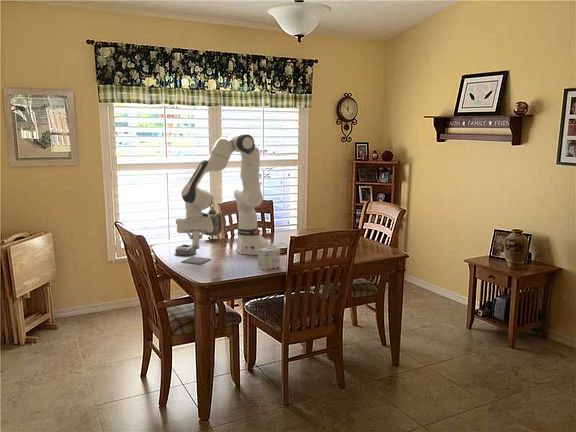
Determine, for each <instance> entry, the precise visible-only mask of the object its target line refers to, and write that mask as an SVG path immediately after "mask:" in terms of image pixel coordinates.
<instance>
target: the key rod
mask: <svg viewBox="0 0 576 432" xmlns="http://www.w3.org/2000/svg"><path fill="white" fill-rule="evenodd" d="M191 235H192V237H193V238H192V239H191V242H192V243H191V245H192V249H196V250H199V249H200V245H201V244H200V240H201V239H200V235H201V233H200V231H199V230H193V231H192V233H191Z"/></svg>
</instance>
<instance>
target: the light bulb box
mask: <svg viewBox="0 0 576 432" xmlns="http://www.w3.org/2000/svg"><path fill="white" fill-rule="evenodd" d="M279 266H280V267H281V248H279V247H276V246H269V247H268V248H262V249H258V255H257V269H259V268H261V269H260V270H262V269H264V270H265V271H267V270H266V269H270V268H275V267H279ZM275 269H276V268H275ZM264 270H263V271H264ZM270 270H271V269H270Z"/></svg>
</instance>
